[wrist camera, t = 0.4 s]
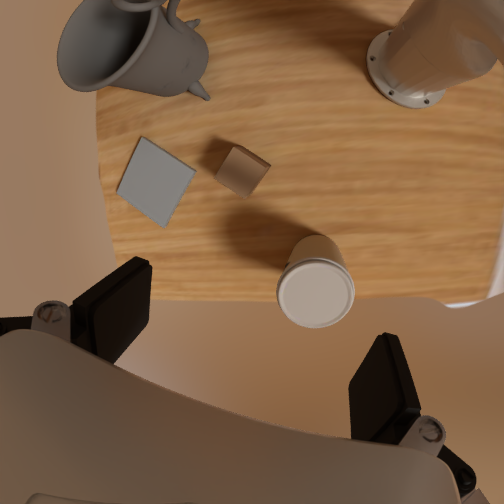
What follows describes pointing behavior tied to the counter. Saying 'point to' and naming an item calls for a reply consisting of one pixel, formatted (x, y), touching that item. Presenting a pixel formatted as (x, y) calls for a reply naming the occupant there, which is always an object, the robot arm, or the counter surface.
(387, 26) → the counter surface
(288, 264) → the coffee cup
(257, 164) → the walnut cube
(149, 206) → the plate
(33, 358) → the robot arm
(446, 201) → the counter surface
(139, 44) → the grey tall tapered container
